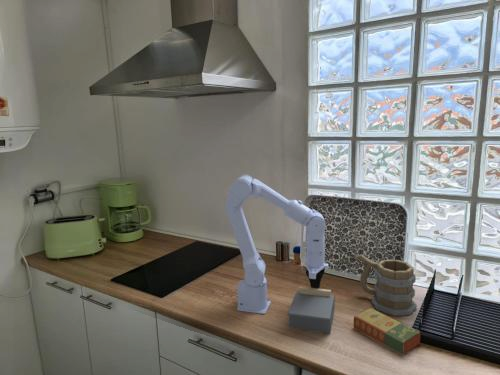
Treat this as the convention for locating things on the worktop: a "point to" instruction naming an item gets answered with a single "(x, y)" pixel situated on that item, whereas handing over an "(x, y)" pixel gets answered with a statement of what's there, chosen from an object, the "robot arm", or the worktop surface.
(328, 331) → the box
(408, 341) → the carton
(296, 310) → the lid
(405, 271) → the tankard
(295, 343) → the worktop surface
